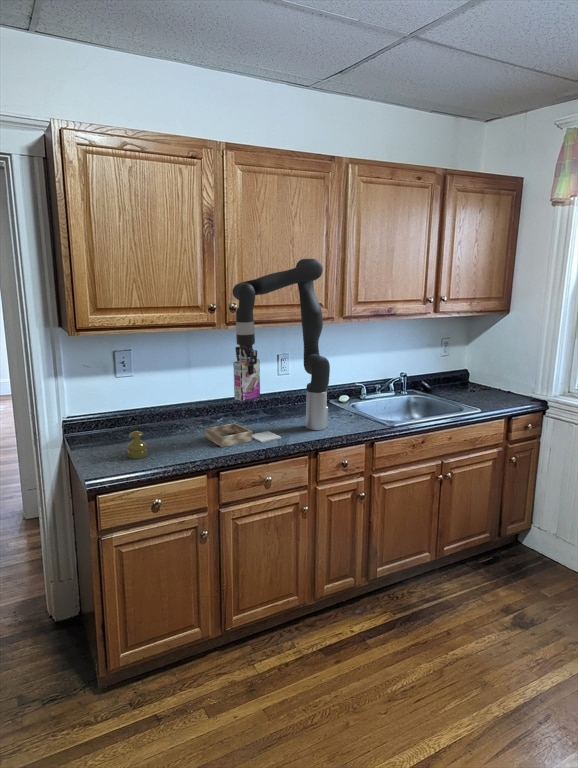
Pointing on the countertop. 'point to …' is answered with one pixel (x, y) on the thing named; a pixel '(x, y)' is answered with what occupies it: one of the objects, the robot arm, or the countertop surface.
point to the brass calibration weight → (136, 446)
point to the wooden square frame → (239, 437)
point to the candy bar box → (246, 381)
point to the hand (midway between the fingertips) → (247, 372)
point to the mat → (265, 436)
